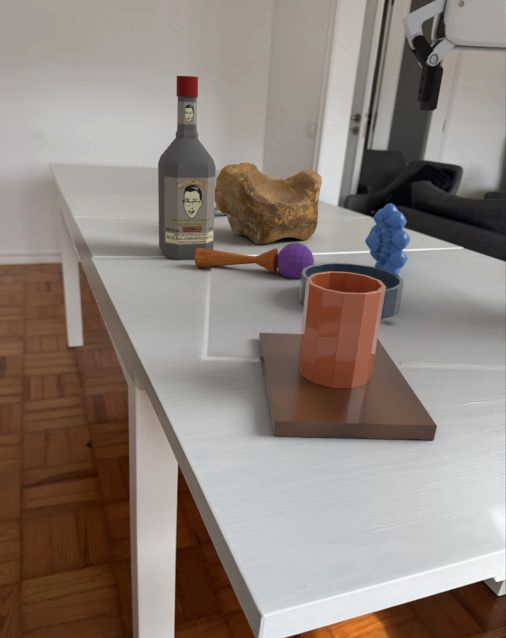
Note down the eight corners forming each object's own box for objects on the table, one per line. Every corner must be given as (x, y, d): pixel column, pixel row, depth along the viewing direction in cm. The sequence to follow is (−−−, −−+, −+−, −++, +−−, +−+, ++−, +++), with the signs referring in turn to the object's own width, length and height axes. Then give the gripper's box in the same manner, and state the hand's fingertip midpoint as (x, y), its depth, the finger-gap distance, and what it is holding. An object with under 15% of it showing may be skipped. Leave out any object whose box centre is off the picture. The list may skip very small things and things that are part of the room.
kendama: (204, 239, 97) (317, 243, 91) (203, 273, 98) (315, 279, 92) (191, 240, 91) (311, 243, 86) (191, 276, 93) (309, 282, 87)
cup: (360, 357, 59) (373, 272, 55) (378, 389, 53) (394, 295, 49) (294, 355, 59) (302, 270, 55) (303, 387, 53) (314, 292, 49)
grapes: (347, 266, 100) (355, 198, 95) (381, 265, 101) (392, 199, 96) (374, 285, 90) (385, 210, 85) (412, 284, 91) (425, 211, 86)
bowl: (382, 292, 86) (387, 264, 84) (411, 325, 73) (417, 293, 72) (293, 289, 86) (295, 261, 84) (306, 322, 73) (309, 289, 71)
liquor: (157, 248, 106) (154, 75, 94) (202, 247, 109) (206, 78, 97) (167, 261, 98) (166, 74, 86) (215, 258, 101) (221, 77, 89)
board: (374, 347, 66) (376, 336, 65) (434, 440, 48) (437, 425, 47) (258, 344, 65) (259, 332, 65) (273, 436, 47) (274, 421, 47)
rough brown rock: (217, 251, 109) (223, 174, 102) (210, 227, 124) (215, 158, 117) (330, 256, 113) (343, 181, 106) (310, 232, 127) (320, 165, 120)
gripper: (581, -74, 54) (535, 115, 61) (408, -83, 53) (381, 108, 60) (634, -100, 47) (575, 116, 54) (436, -111, 47) (402, 109, 54)
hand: (473, 112), depth 57 cm, fingers open, 9 cm apart
